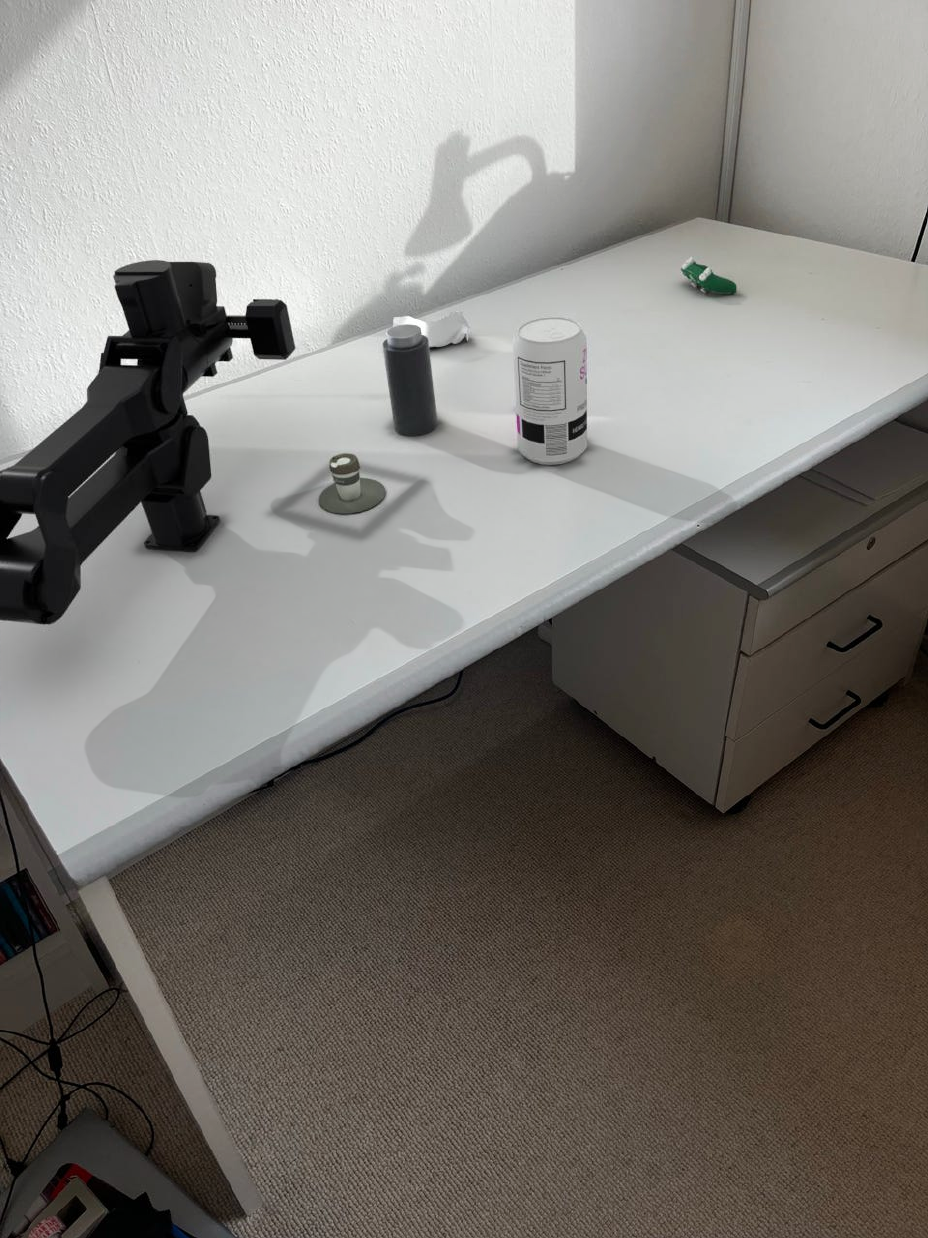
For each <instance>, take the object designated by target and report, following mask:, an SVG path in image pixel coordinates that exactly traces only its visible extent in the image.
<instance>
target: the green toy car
mask: <svg viewBox="0 0 928 1238" xmlns="http://www.w3.org/2000/svg"><path fill="white" fill-rule="evenodd" d="M680 270H681V272H682V275H683V276H684V277H686V278H687V279H688V280H691V281H692V282H691V286H693V287H694V288H697V287H701V288H700V291H701V292H702V293H703V294H706V293H710V292H712V293H717V294H722V295H734V294H736V293H737V284H736V283H735V282H734V281H733V280H731V279H729V278H727V277H722V276H720V275H716V274H715V273H714V272H713V270H712V269H711V267H709V266H707V265H705V264H698V263H696V261H695V260H694V258H693V257H692V256H690V257H688V259H687V260H686V261H685V262H683V264H682V265H681V267H680Z"/></svg>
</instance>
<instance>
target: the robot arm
mask: <svg viewBox="0 0 928 1238" xmlns="http://www.w3.org/2000/svg"><path fill="white" fill-rule="evenodd" d="M112 277H113V280H114V290H115V294H116V296H117V299H118V301H119V303H120V306H121V308H122V311H123V315H124V318H125V322H126V324H127V328H128V330H127V331H126V332H125V333H124V334H122V335H107V337H106V341H105V345H104V349H103V352H101V353H100V359H99V368H98V373H97V375H96V376H95V377H94V378H93V380H92V381H91V382H90V383H89V385H88V386H87V388H86V402H85V403H84V404H83V406H82V407H81V408H80V409H78V410H77V411H76V412H75V413H74V414H72V415H71V416H70V417H69V418H68V419H66V421H64V422H63V423H62V424H61V425H59V426H58V427H57V428H55V430H54V431H53V432H51V433H50V434H49V435H48V436H46V437H45V438H44V439H43V440H42V441H41V442H39V444H37V445H36V446H35V447H34V448H32V449H31V450H30V451H29V452H27V454H25V455H24V456H23V457H22V458H20V459H19V460H18V461H16V463H14V464H13V465H11V466H8V467H7V468H3V469H2V470H0V621H3V622H4V621H5V622H15V623H24V624H33V625H42V626H43V625H49V626H50V625H52V624H55V623H57V622H58V621H59V620H61V618H62V617H63V615H64V614H65V613H66V611H68V608H69V607H70V605H71V604H72V602H73V601H74V600H75V598H76V597H77V595H78V594H79V592H80V591H81V589H82V574H81V573H82V568H81V567H82V565H83V564H84V562H85V561H87V559H88V558H89V557H90V556H91V555H92V554H93V553H94V552H95V551H96V550H97V549H98V548H99V547H100V546H101V545H102V543H103V542H104V541H105V540H106V539H107V538H108V537H109V536H110V535H112V533H113V532H114V531H115V530H116V529H117V528H118V526H120V525H121V523H123V521H125V519H126V518H127V517H128V516H129V515H130V514H131V513H132V512H133V511H134V510H136V508H137V507H138V506H139V505H140V504H141V506H142V508H143V512H144V515H145V517H146V520H147V523H148V526H149V528H150V531H151V533H150V535H149V536H148V537H147V538H146V539H145V540H144V542H143V546H144V548H145V549H153V550H155V549H156V550H167V551H168V550H171V551H184V552H197V551H198V550H199V549H200V548H201V547H202V545H203V544H204V542H205V541H206V540H207V539H208V537H209V536H210V535H211V534H212V532H213V531H214V529H215V528H216V527H217V526H218V524H219V523H220V522H221V517H220V515H217V514H216V515H215V514H207V508H206V505H205V502H204V498H203V495H202V492H201V491H202V489H203V488H204V487H205V486H206V485H207V483H209V482H210V480H211V479H212V467H211V465H212V464H211V457H210V456H211V455H210V444H209V436H208V433H207V431H206V429H205V428H204V427H203V426H201V425H200V422H199V421H198V419H197V418H196V417H195V416H194V415H193V414H189V412H188V409H187V404H186V402H185V399H184V398H185V397H184V393H186V392H187V391H188V390H189V389H190V388H191V387H192V386H193V385H194V384H195V383H196V382H198V381H199V379H201V378H202V377H207V378H214V377H215V376H216V375H217V374H218V371H217V366H216V364H217V362H227V363H228V362H231V361H232V360H233V359H234V356H233V352H232V345H233V342H234V341H233V339H250V344H251V349H252V352H253V355H254V357H256V359H258V360H273V361H274V360H278V361H279V360H282V361H287V359H289V357H290V356H291V355H292V354H293V353H294V352H295V350H296V344H295V339H294V335H293V330H292V325H291V319H290V314H289V310H288V305H287V304H286V303H285V302H284V301H283V300H281V299H278V298H275V299H271V298H253V299H252V301H250V302H249V303H248V304H247V305H246V310H245V314H243V315H241V314H239V315H238V314H227V312H226V307H225V306H224V305H217V304H218V292H217V291H218V290H217V279H216V278H217V270H216V267H215V266H214V265H213V264H212V263H211V262H202V261H201V262H200V261H167V260H163V259H162V260H161V259H151V260H143V261H137V262H132V263H129V264H126V265H123V266H121V267H119V268H117V269H115V270H114V274H113V275H112ZM122 360H137V361H136V364H122ZM23 514H24V515H34V516H35V518H36V521H37V524H38V525H37V527H35V528H34V529H32V530H30V531H27V532H24V533H21V534H18V535H15V536H11V537H9V536H10V535H11V533H12V531H13V530H14V529H15V528H16V526H17V524H18V523H19V521H20V520H21V518H22V517H23Z"/></svg>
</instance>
